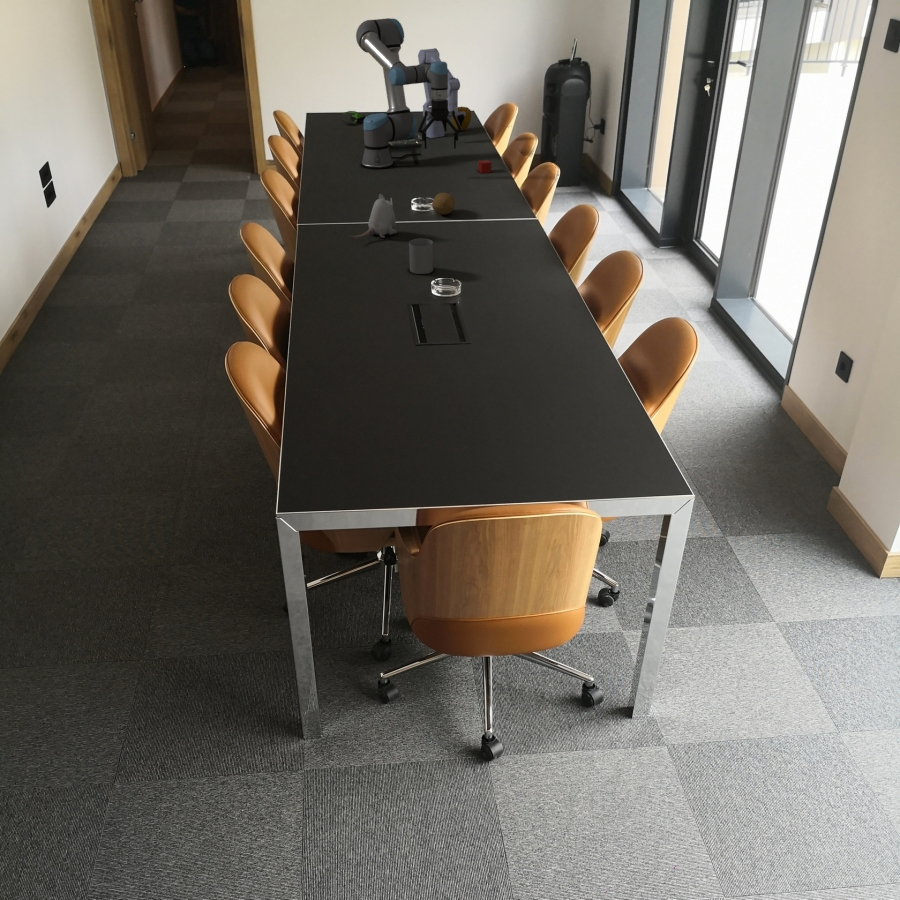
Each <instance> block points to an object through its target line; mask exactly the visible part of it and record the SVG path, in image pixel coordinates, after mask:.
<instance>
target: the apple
mask: <svg viewBox="0 0 900 900" xmlns="http://www.w3.org/2000/svg"><path fill="white" fill-rule="evenodd" d="M458 111H465V112H466V116H464V120H463V122H462V125H461V128H462V132H463V131H466V130H467V129H468V128H469V126H470V124H471V121H472V111H471V108H469V107H467V106H462V105H461V106H458ZM456 118H457V116H456ZM457 120H458V118H457ZM451 122H452V124H453V125H454V126H455V127H456V129H457V130H458V127H457V125H456V123H455V121H454V118H453V116H451Z"/></svg>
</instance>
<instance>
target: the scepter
mask: <svg viewBox="0 0 900 900" xmlns="http://www.w3.org/2000/svg"><path fill="white" fill-rule="evenodd" d="M346 114H350V115H349V117H350V118H349V120H350V121H352V122H349V121H348V122H347V121H345V120H341V122H342V123H344V124H346V125H349V126H355V125H357V124H359V123H361V122H364V119H365V118H366V117H367V116H365V115H363V114H361V113H359V112H357V111H356V110H348V111H345V112H343V113H342V115H346Z"/></svg>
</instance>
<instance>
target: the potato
mask: <svg viewBox="0 0 900 900" xmlns="http://www.w3.org/2000/svg"><path fill="white" fill-rule="evenodd" d="M455 206H456V200H455V198H454V196H452V195H451V194H449V193H448V192H439V193H437V194H436V195H435V197H434V198H433V200H432V201H431V207H432V209H433V210H434V212H436V213H437V214H439V215H441V216H442V215H449V214H450V213H452V212H453V211H454V209H455Z"/></svg>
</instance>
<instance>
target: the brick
mask: <svg viewBox="0 0 900 900" xmlns="http://www.w3.org/2000/svg"><path fill="white" fill-rule="evenodd" d="M477 164H478V169H477V171H478V172H480V174H490V173H492V161H490V160H489V159H482V160H481V159H480V160H478V163H477Z"/></svg>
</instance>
